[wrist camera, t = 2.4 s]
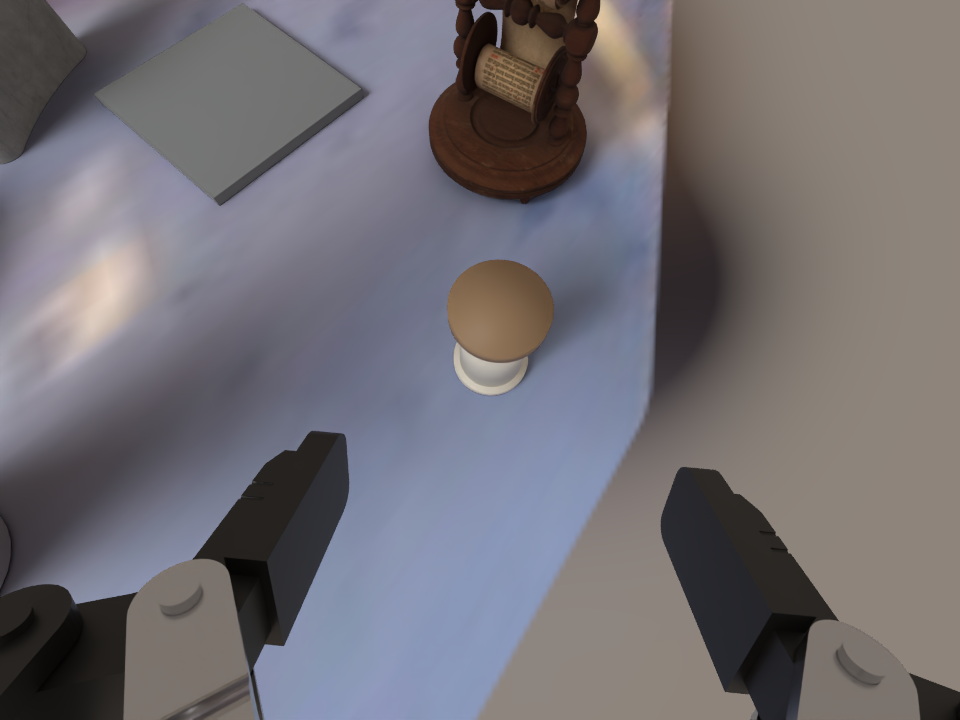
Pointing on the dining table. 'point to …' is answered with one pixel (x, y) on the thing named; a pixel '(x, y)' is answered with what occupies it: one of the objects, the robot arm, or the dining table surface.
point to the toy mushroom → (497, 323)
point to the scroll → (515, 97)
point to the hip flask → (30, 67)
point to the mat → (229, 101)
